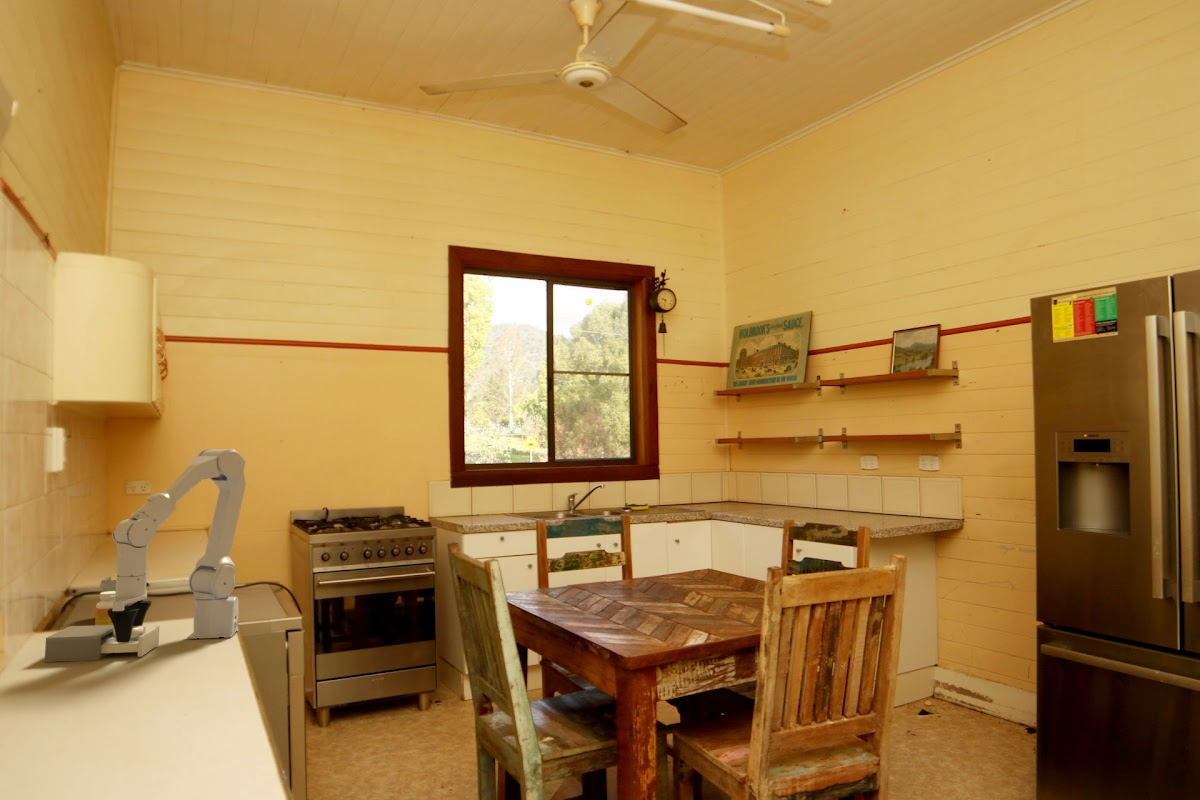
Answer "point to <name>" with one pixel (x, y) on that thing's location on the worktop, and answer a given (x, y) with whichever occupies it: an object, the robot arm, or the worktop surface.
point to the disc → (133, 631)
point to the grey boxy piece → (77, 643)
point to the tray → (132, 643)
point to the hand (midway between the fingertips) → (128, 638)
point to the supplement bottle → (104, 608)
